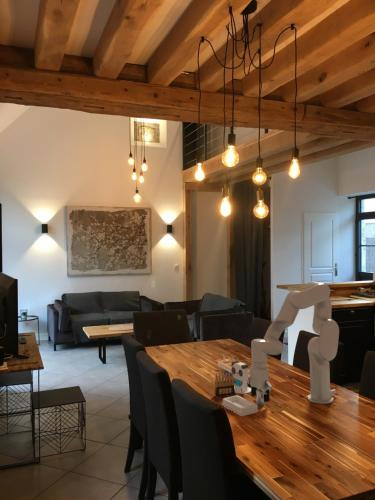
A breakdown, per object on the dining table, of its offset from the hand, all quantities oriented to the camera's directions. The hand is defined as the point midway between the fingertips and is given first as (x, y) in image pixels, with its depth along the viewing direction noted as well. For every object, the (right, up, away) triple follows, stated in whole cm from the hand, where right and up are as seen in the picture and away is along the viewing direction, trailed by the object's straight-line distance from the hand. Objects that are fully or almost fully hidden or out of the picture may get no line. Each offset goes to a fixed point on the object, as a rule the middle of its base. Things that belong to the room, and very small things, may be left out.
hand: (260, 398), depth 213 cm
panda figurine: (-7, -3, +22) cm, 24 cm away
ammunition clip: (-16, -4, +15) cm, 22 cm away
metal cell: (0, -3, 0) cm, 3 cm away
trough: (-11, -3, -5) cm, 12 cm away
